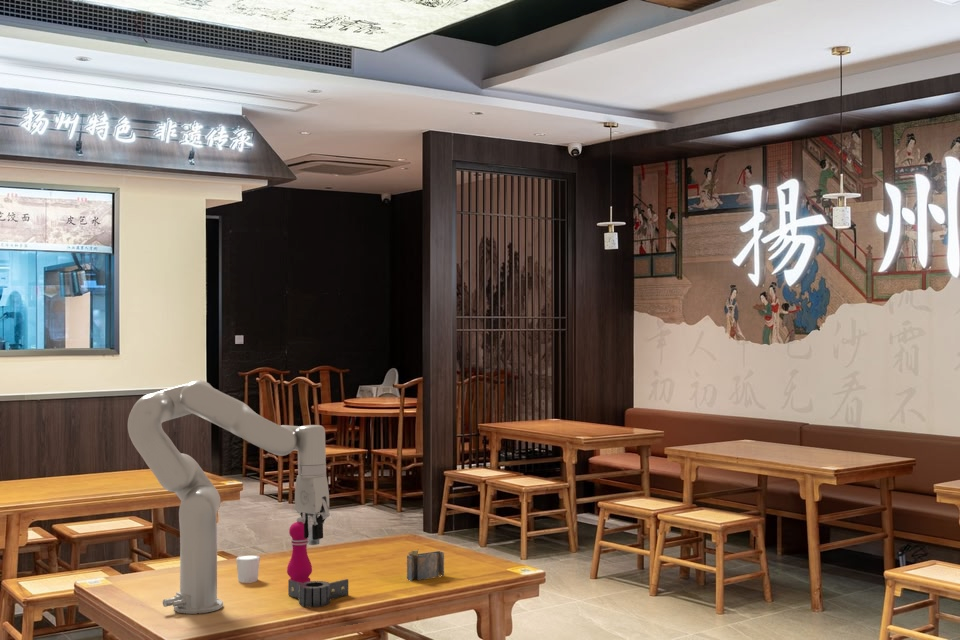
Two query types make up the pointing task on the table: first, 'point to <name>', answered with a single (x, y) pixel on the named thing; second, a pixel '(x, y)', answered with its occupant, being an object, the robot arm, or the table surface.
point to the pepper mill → (299, 554)
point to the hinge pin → (310, 523)
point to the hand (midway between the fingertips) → (313, 537)
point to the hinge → (317, 592)
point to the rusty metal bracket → (425, 565)
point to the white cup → (248, 568)
